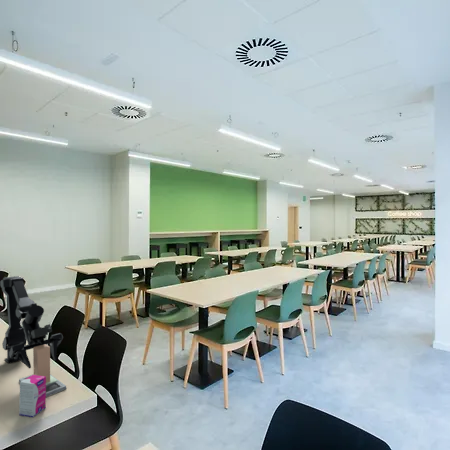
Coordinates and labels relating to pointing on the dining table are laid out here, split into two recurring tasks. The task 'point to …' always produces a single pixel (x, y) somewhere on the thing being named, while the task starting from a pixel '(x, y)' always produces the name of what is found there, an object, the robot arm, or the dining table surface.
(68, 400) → the dining table surface
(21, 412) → the supplement box
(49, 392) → the tray
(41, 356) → the tan tall block
